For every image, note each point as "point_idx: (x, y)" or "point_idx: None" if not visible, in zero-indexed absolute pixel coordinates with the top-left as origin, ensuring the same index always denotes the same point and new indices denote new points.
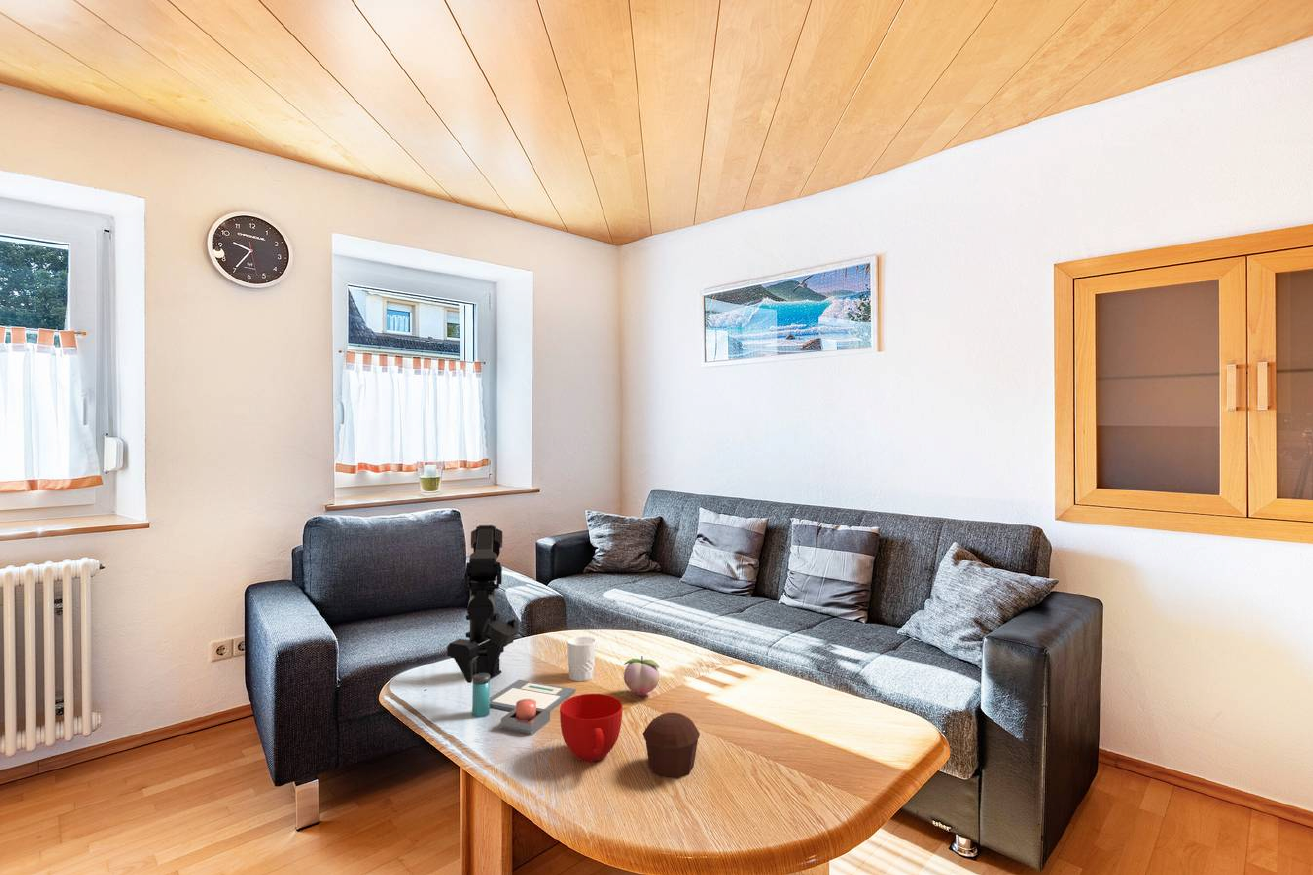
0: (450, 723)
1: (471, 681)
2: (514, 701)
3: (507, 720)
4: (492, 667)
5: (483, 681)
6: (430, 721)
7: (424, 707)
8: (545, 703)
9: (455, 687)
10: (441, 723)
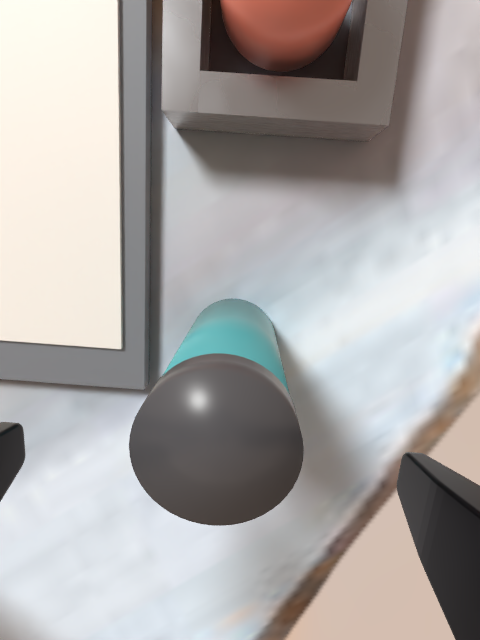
0: (366, 413)
1: (416, 454)
2: (73, 228)
3: (396, 69)
4: (14, 453)
5: (275, 384)
6: (369, 499)
7: (254, 588)
8: (15, 12)
9: (31, 586)
10: (376, 448)
